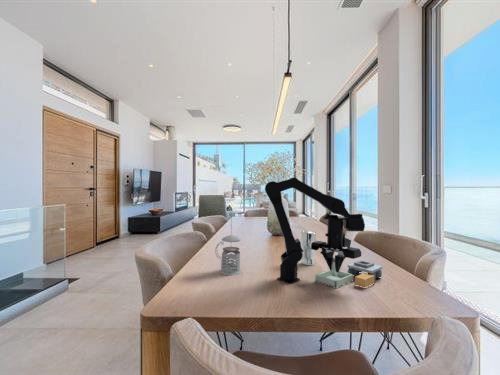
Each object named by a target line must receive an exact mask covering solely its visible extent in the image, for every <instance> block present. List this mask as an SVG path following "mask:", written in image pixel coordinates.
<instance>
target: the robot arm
mask: <svg viewBox="0 0 500 375" xmlns="http://www.w3.org/2000/svg"><path fill="white" fill-rule="evenodd" d="M290 189H294V190H296V191H298V192H300V193H301V194H303V195H306V196H307V197H308V198H311V199H312V200H314V201H316V202H317V203H319V204H320V205H321V206H322V207H323V208H325V209H326V210H327V211H328V212H329V213H328V212H326V213H324V215H323V216H322V217H321V218H322V219H323V220H327V232H326V233H325V237H327V239H326V240H327V241H323V240H316V242H313V243H312V244H311V249H313V250H315V251H318V250H319V249H321V251H320V255H322V256H323V258H324V260H325V262H326V264H327V267H328V269H329V270H330V271H331V258H335V265H336V272H339V271H341V268H342V265H343V263H344V260H345V259H346V258H348V259H351V260H352V259H353V260H354V259H357V258H360V257H362V251H361V249H360V248H358V247H352V246H351V244H352V240H351V239H349V238H348V237H346V234H345V233H344V229H345V230H346V232H361V233H362V232H364V230H365V228H366V227H365V226H366V224H365V220H364V217H363V214H362V213H350V212H349V211H348V210H347V208H346V204H345V202H344V201H343V200H342V199H340V198H337V197H335V196H331V195H328V194H324V193H323V192H321V191H320V190H318V189H316V188H314V187H312V186H311V185H308V184H307V183H305V182H303V181H301V180H299V179H298V178H297V177H291V178H288V179H286V180H281V181H278V182H277V181H274V180H273V181H269V182H267V183H266V184H265V187H264V191H265V193H266V195H267V198H268V199H269V201H270V202H271V205H272V207H273V209H274V212H275V215H276V217H277V218H276V219H277V221H278V223H279V227H280V230H281V233H282V237H283V239H284V240H283V241H284V248H285V251H284V252H283V253H282V254H281V255H280V259H281V264H280V266H279V269H280V270H279V274H280V276H279V277H277V278H276V279H277V280H278V281H281V282H284V283H285V284H293V283H297V282H298V281H301V280H300V278H299V277H298V263H299V262H300V261H302V257H303V254H302V252H304V251H303V249H302V247H301V240H300V239H299V238H296V239H295V237H294V233H293V231H292V228H291V225H290V223H289V222H290V221H289V219H288V217H287V213H286V211H285V208H284V204H283V198H282V192H284V191H286V190H290ZM330 213H333V214H330ZM339 216H341V217H339ZM335 252H336V253H337V254H335ZM334 254H335V255H334Z"/></svg>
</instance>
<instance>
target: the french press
mask: <svg viewBox="0 0 500 375" xmlns="http://www.w3.org/2000/svg"><path fill="white" fill-rule="evenodd" d="M229 216H230V235H227V236H224V237H223V238H221V241H220V242H219V243H217V245H216V247H215V248H214V249H215V251H214V252H215V255H216V257H217V259H219V260H221V263H220V264H221V265H220V266H221V267H220V269H219V273H220V274H221V275H223V276H237V275H240V274H242V273H243V270H242V269H241V252H240V248H239V246H238V247H237V246H225V247H223V248H222V250H223V251H222V252H221V256H220V255H219V253H218V251H217V248H218V247H219V245H221V244H223V242H225V243H226V242H227V243H237V242H240V241H241V238H240V237H239V236H236V235H233V233H232V231H233V230H232V227H233V226H232V223H233V221H232V219H233V216H234V213H233V212H229Z"/></svg>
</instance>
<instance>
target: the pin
mask: <svg viewBox="0 0 500 375" xmlns="http://www.w3.org/2000/svg"><path fill="white" fill-rule="evenodd" d="M331 275H332V276H338V272H336V265H335V257H333V258H331Z"/></svg>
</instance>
